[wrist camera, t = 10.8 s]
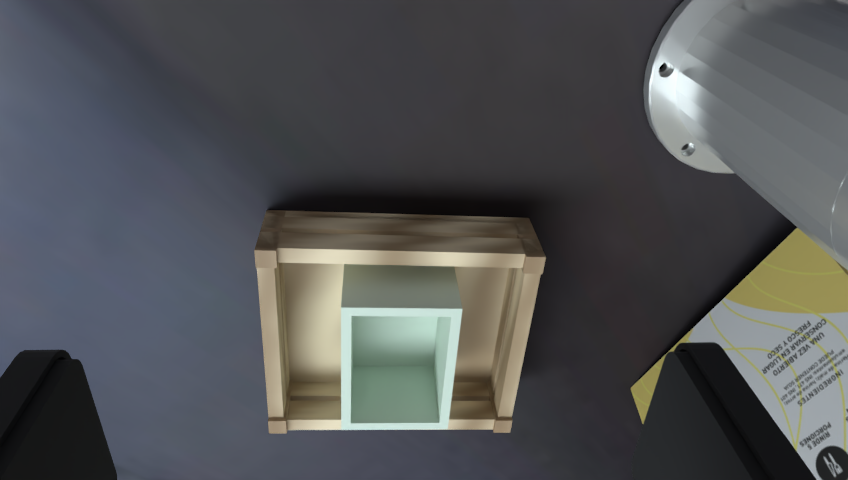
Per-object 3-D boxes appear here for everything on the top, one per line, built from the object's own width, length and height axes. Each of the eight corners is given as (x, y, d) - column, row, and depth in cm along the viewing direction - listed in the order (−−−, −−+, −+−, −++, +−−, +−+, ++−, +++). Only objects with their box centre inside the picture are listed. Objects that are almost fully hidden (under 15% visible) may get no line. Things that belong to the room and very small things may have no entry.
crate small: (451, 253, 41) (462, 308, 36) (439, 366, 47) (447, 429, 41) (344, 251, 41) (341, 307, 36) (344, 366, 46) (341, 429, 41)
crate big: (529, 217, 41) (545, 257, 37) (498, 384, 49) (509, 432, 45) (266, 209, 40) (254, 250, 36) (278, 383, 47) (269, 433, 43)
